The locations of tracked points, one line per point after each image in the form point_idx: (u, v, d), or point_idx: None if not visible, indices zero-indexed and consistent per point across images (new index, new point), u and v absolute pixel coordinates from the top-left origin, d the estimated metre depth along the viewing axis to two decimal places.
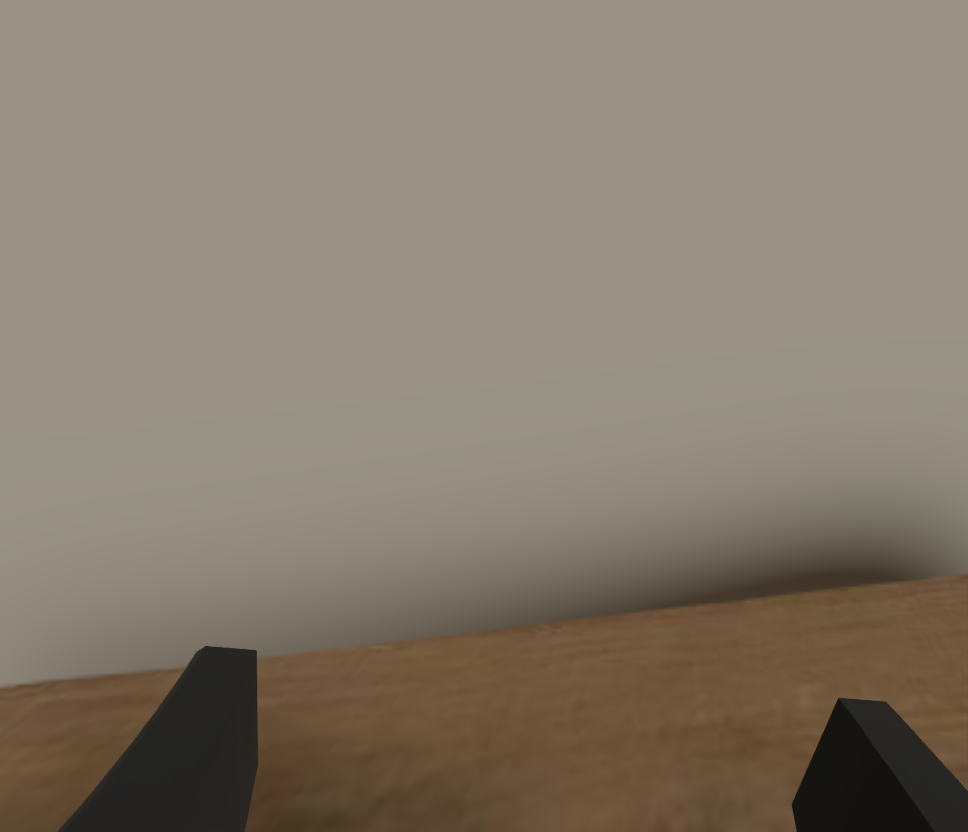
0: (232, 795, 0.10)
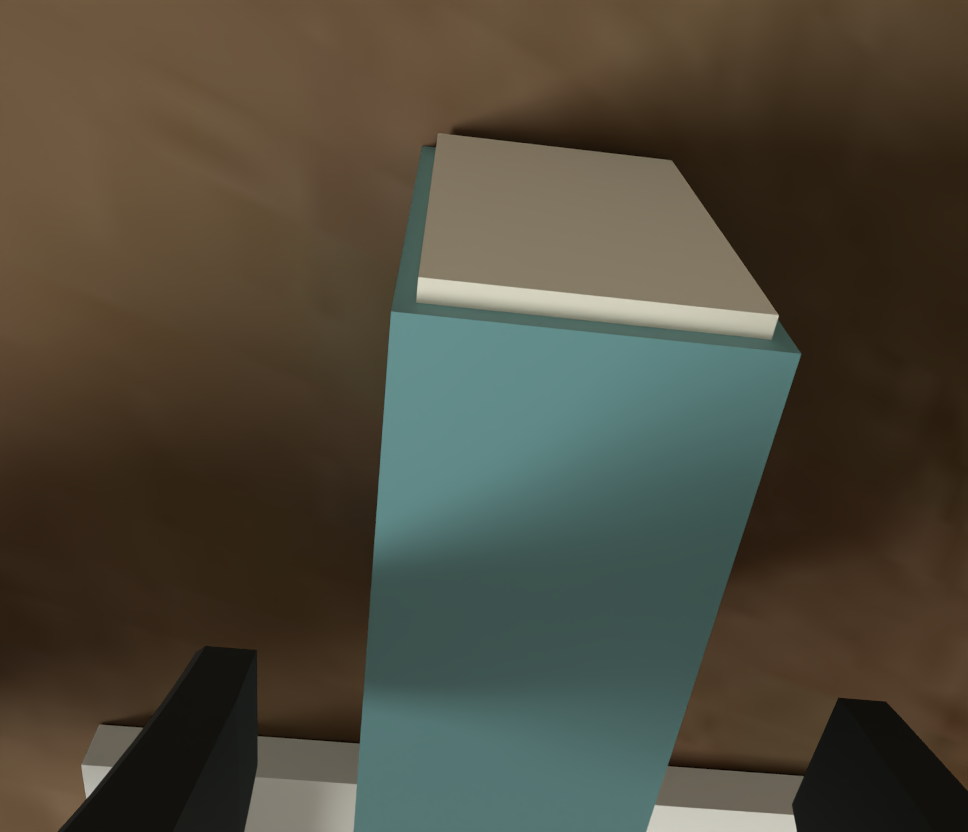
0: (232, 795, 0.10)
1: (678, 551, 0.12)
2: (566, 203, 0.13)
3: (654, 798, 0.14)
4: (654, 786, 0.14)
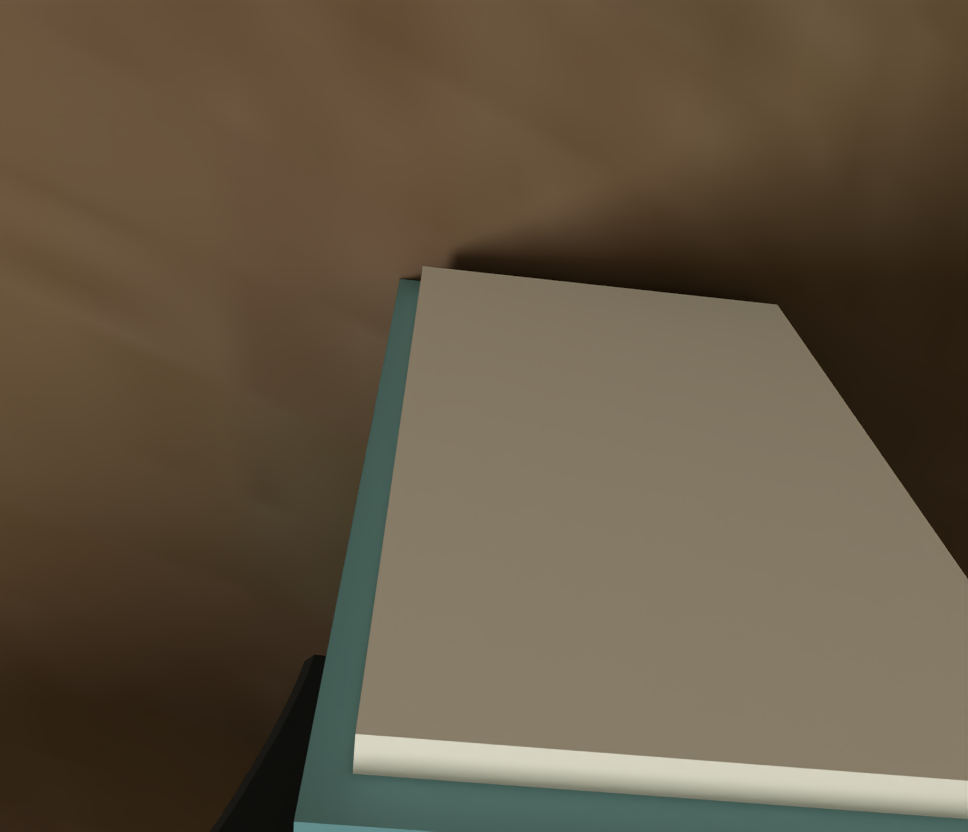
0: None
1: None
2: (634, 431, 0.08)
3: None
4: None
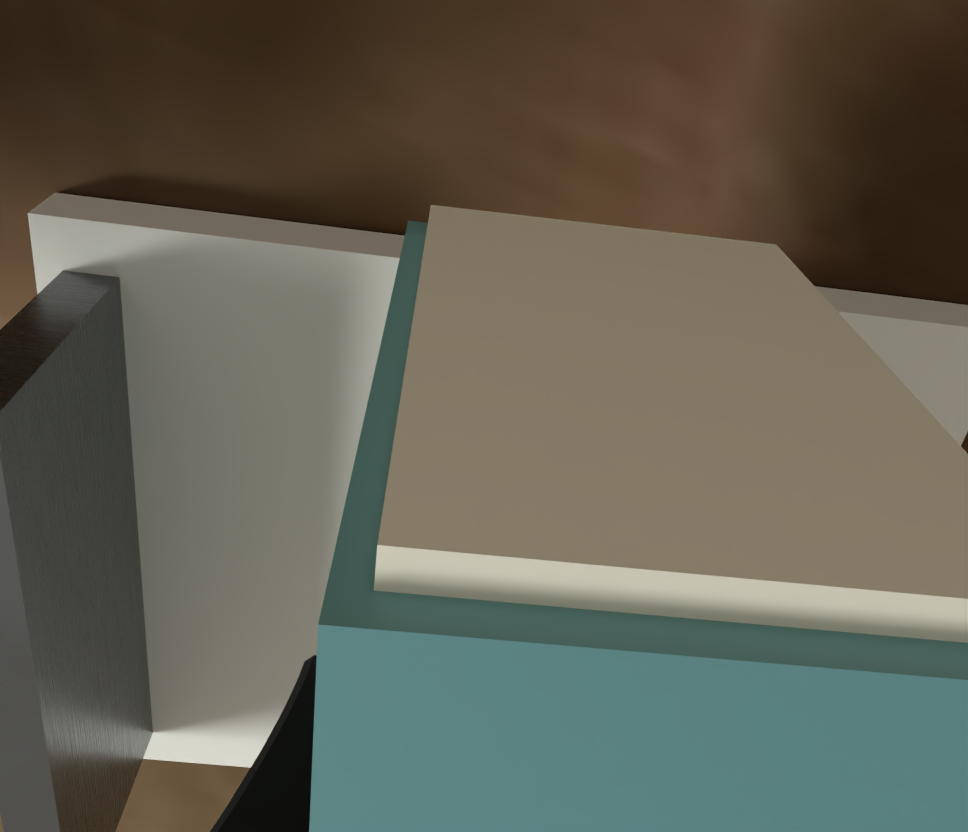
0: None
1: None
2: (640, 333, 0.08)
3: None
4: None
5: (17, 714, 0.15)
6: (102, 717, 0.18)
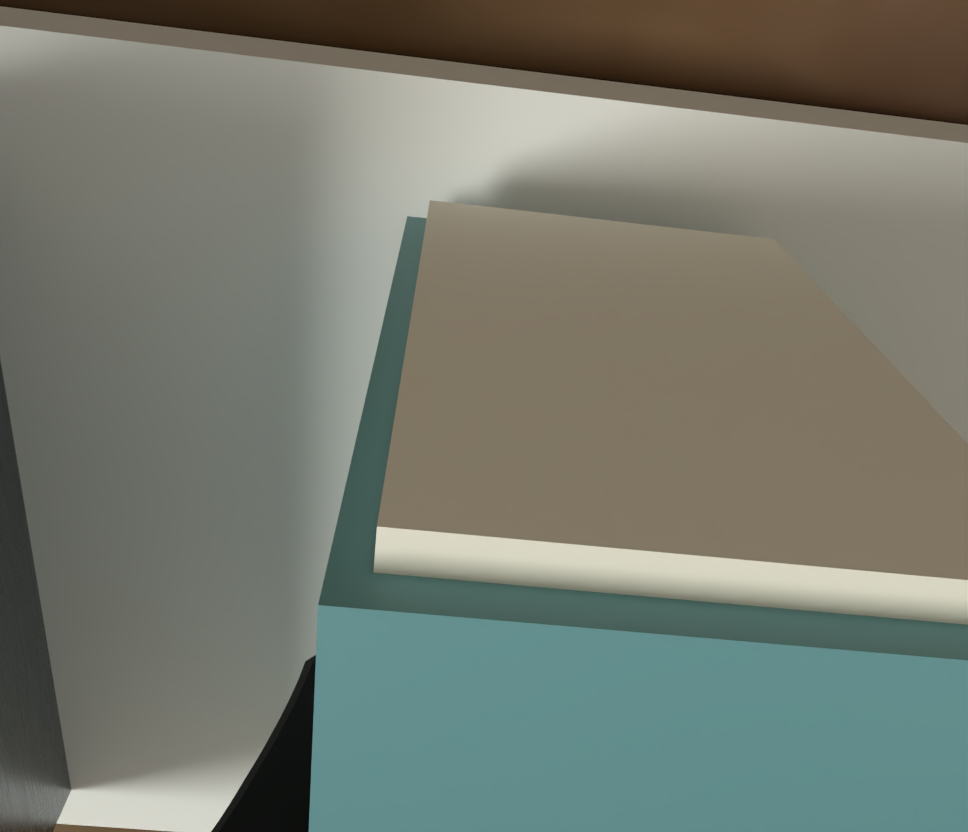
0: None
1: None
2: (638, 324, 0.08)
3: None
4: None
5: None
6: None
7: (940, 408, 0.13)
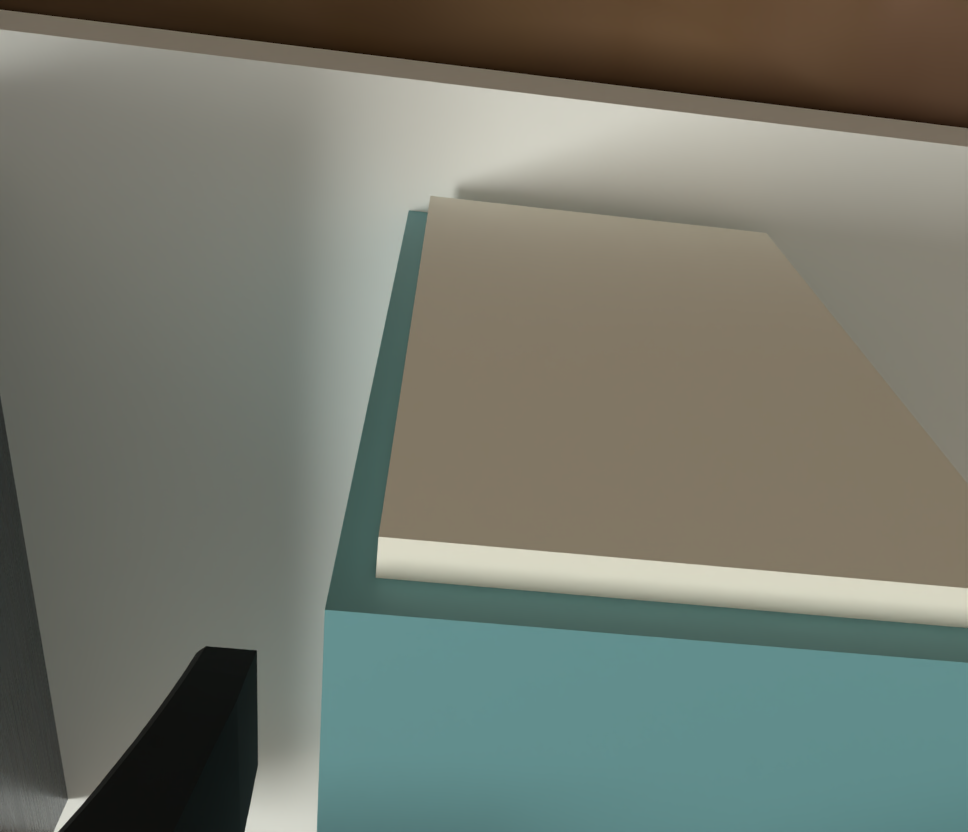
0: (232, 795, 0.10)
1: None
2: (630, 326, 0.08)
3: None
4: None
5: None
6: None
7: (947, 416, 0.13)
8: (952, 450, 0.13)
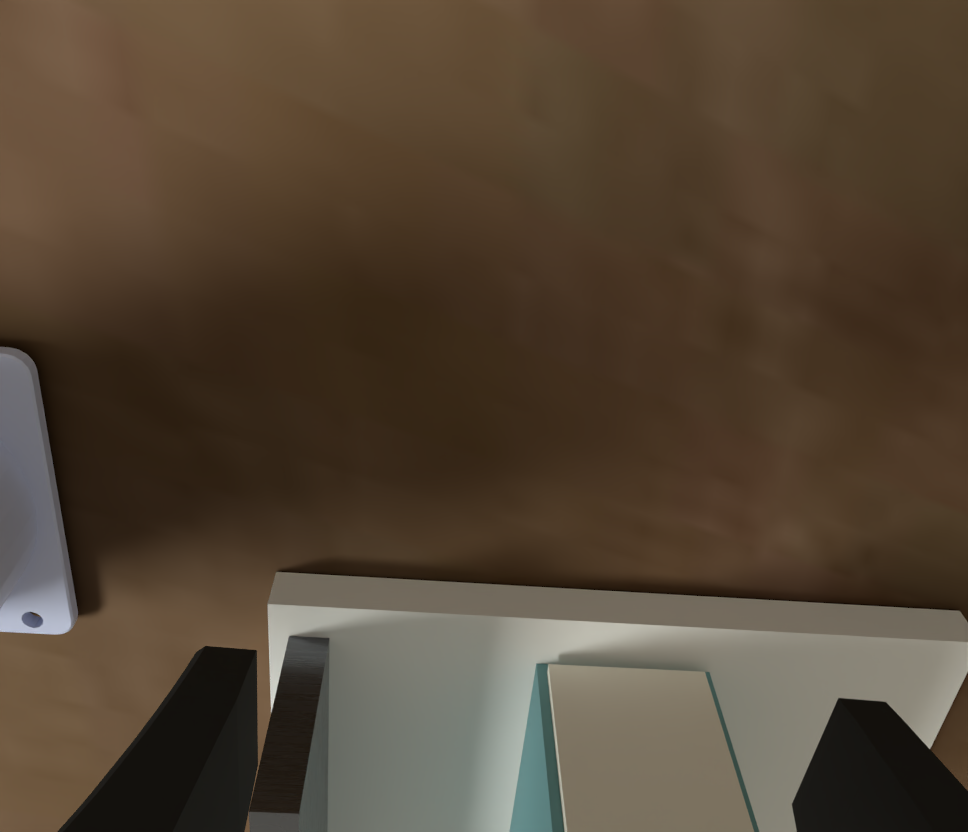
0: (232, 795, 0.10)
1: None
2: (644, 771, 0.21)
3: None
4: None
5: None
6: None
7: (802, 731, 0.25)
8: (807, 745, 0.25)
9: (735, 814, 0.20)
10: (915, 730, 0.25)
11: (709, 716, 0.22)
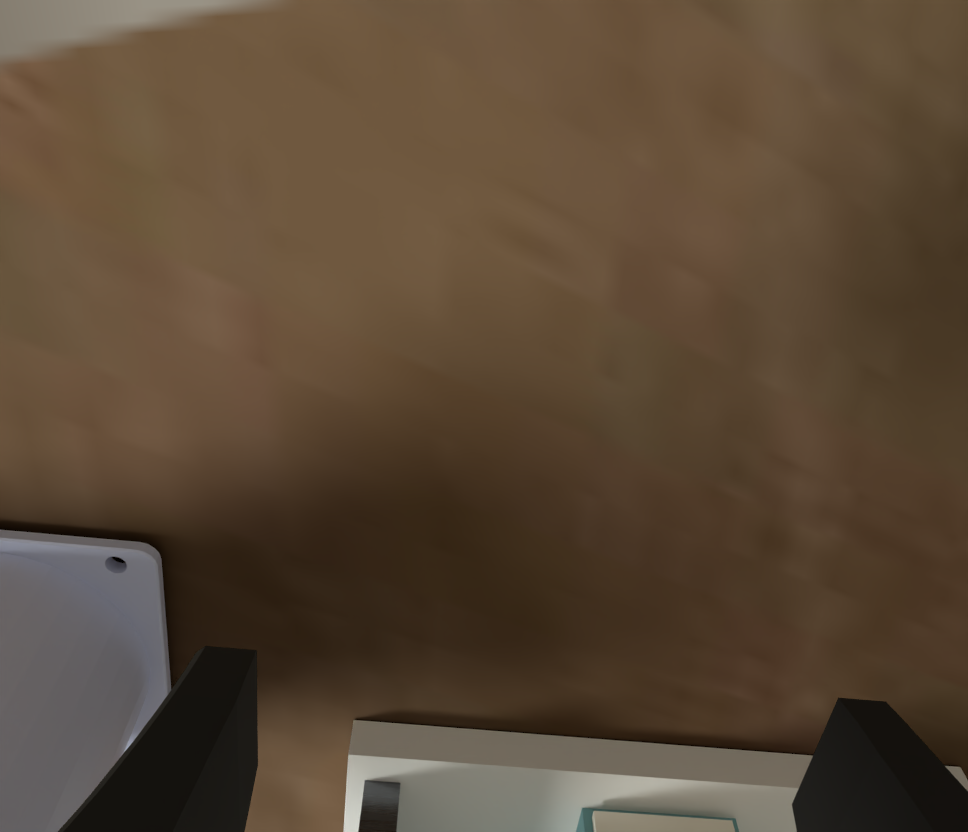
0: (232, 795, 0.10)
1: None
2: None
3: None
4: None
5: None
6: None
7: None
8: None
9: None
10: None
11: None
